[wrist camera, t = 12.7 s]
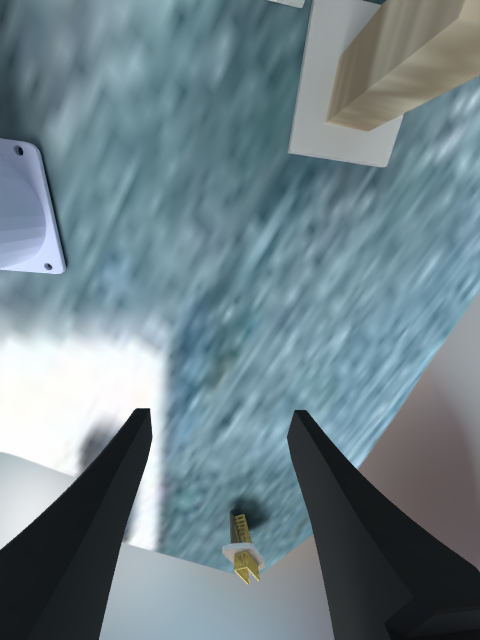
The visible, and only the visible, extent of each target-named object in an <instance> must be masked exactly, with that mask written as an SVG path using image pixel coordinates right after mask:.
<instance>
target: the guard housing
mask: <svg viewBox="0 0 480 640" xmlns="http://www.w3.org/2000/svg"><path fill="white" fill-rule="evenodd" d="M268 1H273V2H277V3H281V4H285V5H290V6H294V7H298V8H302V7H303V4H304V2H305V0H268Z"/></svg>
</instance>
